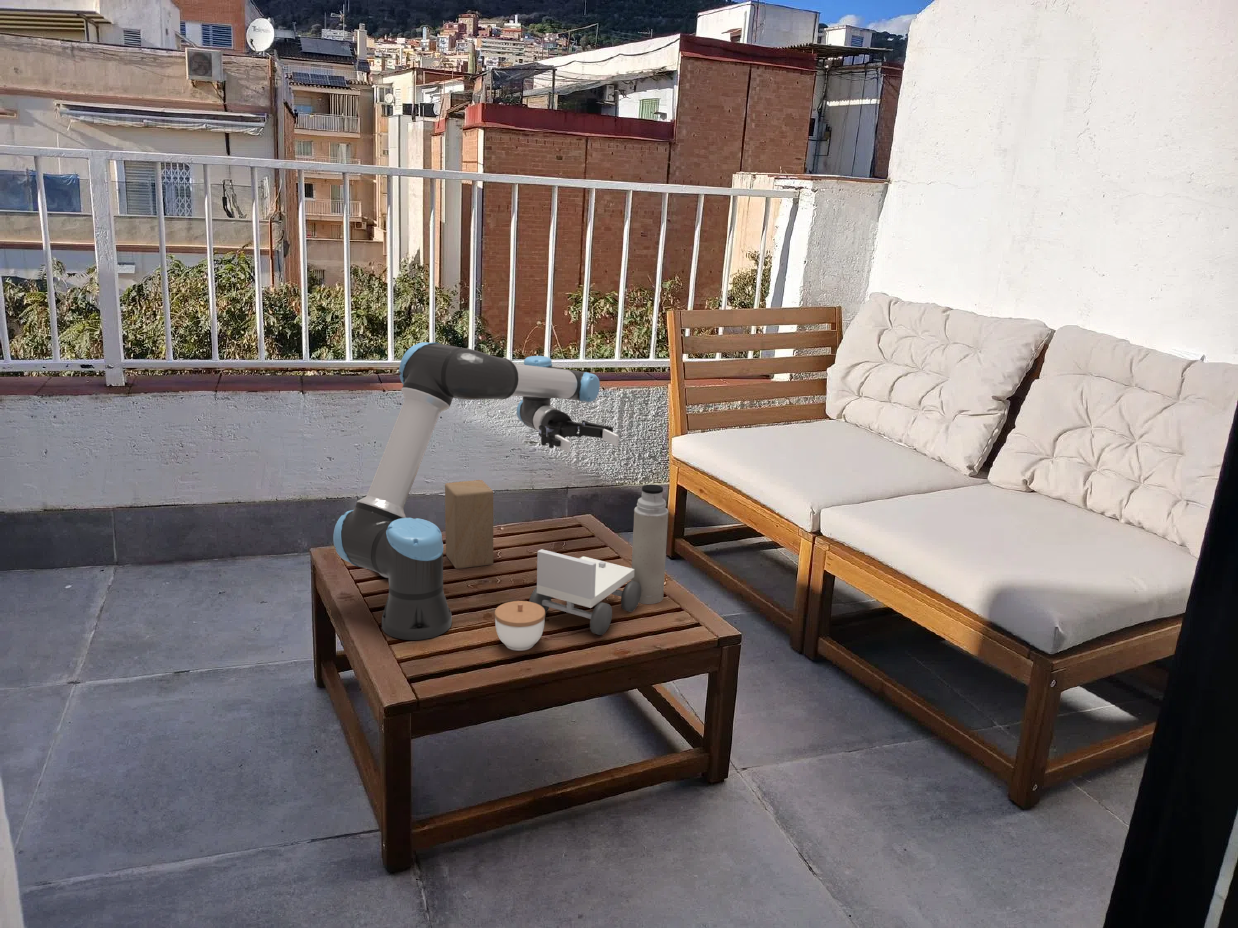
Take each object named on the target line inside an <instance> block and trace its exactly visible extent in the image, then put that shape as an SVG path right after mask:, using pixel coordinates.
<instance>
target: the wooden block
mask: <svg viewBox="0 0 1238 928" xmlns="http://www.w3.org/2000/svg"><path fill="white" fill-rule="evenodd" d="M444 508H445V509H444V511H445V512H444V513H445V514H444V515H445V516H444V518H445V520H444V521H445V522H444V523H445V527H444V528H445V556H446V557H447V559H448V560H449V561H450V563H451V565H453V567H454V569H455V570H456V569H457V570H458V569H459V570H460V569H467V568H473V567H474V568H475V567H481V566H487V565H488V566H489V565H493V564H494V491H493V489H492V488H491V487H490V486H489V485H488V484H487V483H486V482H485V481H484V480H483V479H474V480H466V481H465V480H463V481H456V482H455V481H454V482H446V483H444Z"/></svg>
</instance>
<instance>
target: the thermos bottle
mask: <svg viewBox="0 0 1238 928" xmlns="http://www.w3.org/2000/svg"><path fill="white" fill-rule="evenodd" d="M641 490H642V492H641V497H639V498H638V499H637V503H636V506H635V507H634V509H633V531H632V549H631V551H632V552H631V568H632V569H634V578H632V579H631V580H630V581H634V582H638V583H640V585H641V597H640V601H639V603H638V604H643V605H652V604H653V605H654V604H658V603H661V602H662V601H663V600H664V592H665V591H664V589H665V573H666V572H665V571H666V556H667V540H668V522H669V510H668V508H666V507H667V503H666V502H667V501H666V500H665V498H663V492H664V488H663V486H661V485H658V484H644V485H642V487H641Z"/></svg>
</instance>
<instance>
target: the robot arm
mask: <svg viewBox="0 0 1238 928" xmlns="http://www.w3.org/2000/svg"><path fill="white" fill-rule="evenodd" d="M552 361H553V360H552V359H551V357H548V356H546V355H545V356H544V355H531V356H530V355H529V356H527V357H525V359H524V360H523V364H517V363H515V362H513V361H512V360H510V359H508V358H506V357H505V358H504V357H498V356H496V355H495V356H494V355H491V354H488V353H486V352H482V351H479V350H475V349H472V348H471V349H470V348H466V347H465V348H464V347H460V346H459V347H458V346H454V345H450V344H449V345H448V344H443V343H439V342H432V341H431V342H425V341H424V342H418V343H415V344H414V345H412V346H410V347H409V348H408V349H407V350H406V351H405V353H404V354H403V356H402V358H401V360H400V362H399V368H398V369H399V370H398V372H399V373H400V374H399V379H400V382H401V384H402V387H401V389H400V390H401V392H402V396H403V398H404V400H403V403H402V406H401V408H400V411H399V413H398V416H397V418H396V421H395V423H394V425H393V429H392V431H391V433H390V435H389V439H388V441H387V443H386V446H385V448H384V450H383V451H384V452H383V453H382V456H381V458H380V461H379V464H378V467H377V469H376V472H375V474H374V477H373V479H372V482H371V484H370V486H369V489H368V491H367V494H366V496H364V497H363V498H361V499H358V500H357V501H356V503H355V506H354V508H353V509H351V510H348V511H346V512H344V514H341V516H340V517H339V518H338V520H337V522H336V523H335V526H334V530H333V535H332V537H333V545H334V547H335V552H336V553H337V555H338V556H339V557H340V558H341V559H342V560H344V561H346V562H347V563H350V564H351V565H352V566H356V567H359V568H364V569H366V570H370V571H372V572H375V573H378V574H379V573H381V574H384V575H387V576H388V577H389V578H388V596H387V599H386V603H385V606H384V609H383V613H382V616H381V629H382V630H383V632H384V633H385V634H386V635H388V636H389V637H393V638H395V639H400V640H404V641H405V640H406V641H421V640H427V639H432V638H435V637H439V636H441V635H442V634H445V633H446V632H447V631H449V630H450V628H451V627H452V619H453V618H452V610H451V609H450V607H449V605H448V602H447V598H446V595H445V593H444V543H443V534H442V531H441V529H440V528H439V527H438V526H437V524H435V523H433V522H432V521H429V520H426V519H422V518H419V517H418V518H417V517H416V518H412V517H406V516H407V515H406V514H405V511H404V507H405V506H406V505H405V504H406V502H407V501H408V498H409V494H410V493H411V490H412V488H413V484H414V481H415V479H416V477H417V474H418V471H419V469H420V467H421V464H422V460H423V459H424V455H425V453H426V451H427V449H428V446H429V443H430V440H431V437H432V436H433V432H434V430H435V428H436V424H437V423H438V419H439V417H440V414H441V413H443V412H444V411H447V410H449V409H450V407H451V404H452V403H453V399H458V400H466V401H467V400H468V401H474V400H476V401H479V400H507V399H509V398H511V397H522V399H521V400H520V401H519V403H518V405H517V407H516V416H517V419H519V421H520V422H521V423H523V425H525V426H526V427H528V428H531V429H533V430H535V431H537V432H538V436H539V437H540V445H541V446H546V445H547V444H548V448H549V449H554V447H556V448H558V449H560V450H562V451H564V452H565V453H570V452H571V441H570V440H569V439H566V438H568V437H569V438H572V437H577V438H582V437H590V438H600V439H602V440H601V441H604V442H606V443H609V444H611V445H612V446H615V447H618V446H619V439H620V437H619V434H616V433H614V427H613V426H609V425H602V424H599V423H594V422H589V421H587V420H581V422H577V421H573V420H572V418H571V416H569V414H568V413H566V412H564V411H561V409H558V408H555V407H553V406H552V405H551V404H552V399H559V400H560V399H562V400H573V401H579V402H582V403H583V402H584V403H585V402H586V403H592V402H594V401H595V400H596V399H597V397H598V396H599V393H600V387H601V382H600V379H599V377H598V376H597V375H596V374H595V373H591V372H587V371H580V370H579V371H578V370H575V369H574V370H573V369H567V368H562V367H556V366H553V362H552Z"/></svg>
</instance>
